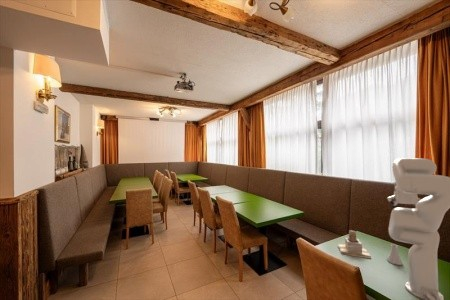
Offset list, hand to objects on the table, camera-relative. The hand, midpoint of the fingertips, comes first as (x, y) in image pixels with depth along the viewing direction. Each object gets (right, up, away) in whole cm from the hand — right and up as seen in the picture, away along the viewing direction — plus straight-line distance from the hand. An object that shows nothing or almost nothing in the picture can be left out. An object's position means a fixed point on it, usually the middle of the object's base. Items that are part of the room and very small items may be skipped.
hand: (405, 212), depth 115 cm
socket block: (-22, -31, +14) cm, 40 cm away
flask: (-6, -31, +1) cm, 31 cm away
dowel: (-22, -29, +14) cm, 39 cm away
